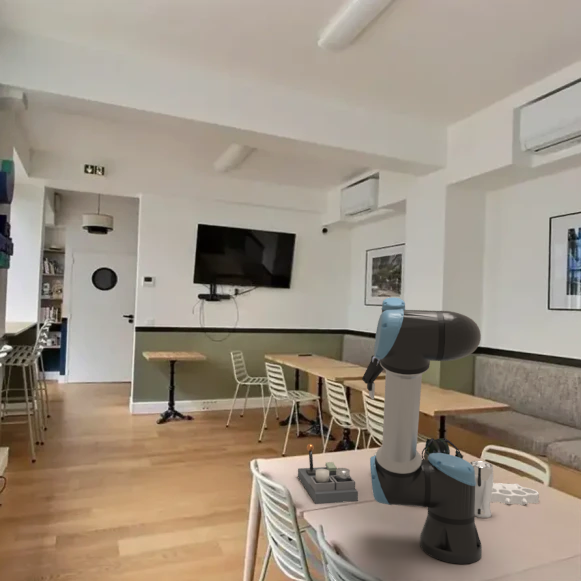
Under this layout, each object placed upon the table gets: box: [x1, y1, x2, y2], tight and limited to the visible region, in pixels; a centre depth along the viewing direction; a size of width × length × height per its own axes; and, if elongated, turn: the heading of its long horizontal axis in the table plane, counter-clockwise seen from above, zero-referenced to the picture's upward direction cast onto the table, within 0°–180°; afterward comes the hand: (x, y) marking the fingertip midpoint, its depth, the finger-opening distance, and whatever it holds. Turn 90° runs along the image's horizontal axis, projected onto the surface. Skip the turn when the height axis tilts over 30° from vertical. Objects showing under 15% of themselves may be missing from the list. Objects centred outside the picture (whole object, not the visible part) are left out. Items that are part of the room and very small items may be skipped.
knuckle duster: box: [490, 482, 540, 506], centre depth 161 cm, size 3×18×15 cm
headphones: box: [421, 437, 464, 460], centre depth 193 cm, size 13×13×20 cm
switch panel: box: [297, 466, 359, 505], centre depth 165 cm, size 24×14×6 cm, turn 13°
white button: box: [316, 469, 329, 483], centre depth 158 cm, size 4×4×3 cm
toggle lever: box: [306, 443, 315, 471], centre depth 172 cm, size 3×3×9 cm
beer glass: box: [469, 460, 494, 519], centre depth 148 cm, size 7×7×15 cm
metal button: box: [336, 467, 351, 482], centre depth 159 cm, size 4×4×3 cm
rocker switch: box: [324, 461, 338, 471], centre depth 172 cm, size 4×3×1 cm, turn 13°
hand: (388, 393), depth 174 cm, fingers open, 13 cm apart
